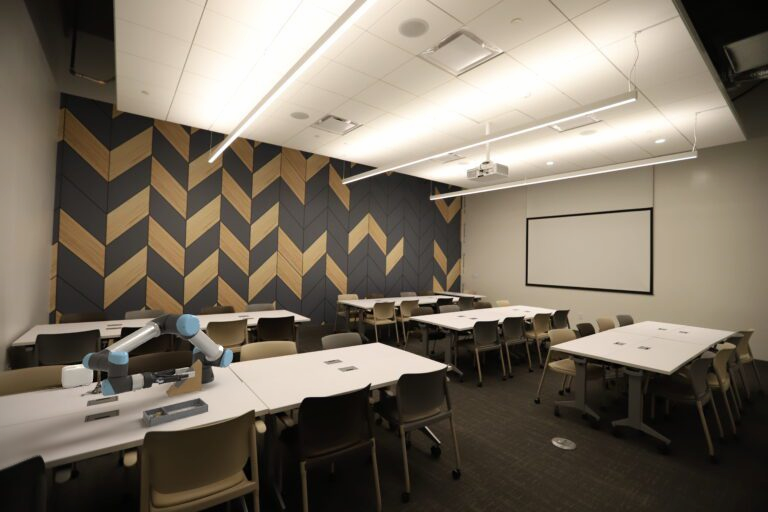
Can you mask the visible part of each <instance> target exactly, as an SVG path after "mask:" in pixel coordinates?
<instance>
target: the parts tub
mask: <svg viewBox="0 0 768 512" xmlns="http://www.w3.org/2000/svg"><path fill="white" fill-rule="evenodd" d="M194 406H195V407H194ZM196 406H197V407H196ZM190 407H193V408H190ZM186 408H190V409H186ZM183 409H185V410H183ZM179 410H181V411H179ZM174 411H177V412H174ZM170 412H171V413H170ZM172 412H174V413H172ZM207 412H209V404H208V403H207V402H206V401H205V400H203V399H202V398H200V397H198V398H193V399H189V400H184V401H180V402H176V403H172V404H168V405H164V406H163V405H162V406H160V407H156V408H155V407H154V408H152V409H151V408H150V409H146V410H142V419H143V421H144V422H145V423H146V425H148V427H149V428H150V427H151V428H152V427H155V426H158V425H162V424H166V423H169V422H173V421H177V420H181V419H185V418H188V417H192V416H196V415H199V414H203V413H207Z"/></svg>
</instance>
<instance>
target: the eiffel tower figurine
mask: <svg viewBox="0 0 768 512" xmlns="http://www.w3.org/2000/svg"><path fill="white" fill-rule="evenodd" d="M101 385H102V382H101V371H99V372H98V377H97V383H96V385H95V387H94V388H93V390H92V389H91V390H89V391H87V392H86V391H85V392H86V394H93V395H100V394H102V391H101ZM86 394H82V395H81V397H84V396H85V395H86Z"/></svg>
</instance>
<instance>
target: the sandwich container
mask: <svg viewBox="0 0 768 512" xmlns="http://www.w3.org/2000/svg"><path fill="white" fill-rule="evenodd" d="M193 371H195V377H191V378H186V379H181V381H178V382H173V384H172V385H171V386H170V387H168V389H167V390H165V393H166V396H167V397H174V396H181V395H185V394H190V393H196V392H201V391H202V384H201V378H202V363H201V362H200V360H199V359H198V360H197V361H196V362H195V363H194V364H193V363H192V364H191V366H190V367H189V369H188V370H187V371H186V372H185V373H188V372H193Z"/></svg>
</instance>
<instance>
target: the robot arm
mask: <svg viewBox="0 0 768 512" xmlns="http://www.w3.org/2000/svg"><path fill="white" fill-rule="evenodd" d="M200 322H201V321H200V318H198V317H197V316H196V315H193V314H189V313H187V314H185V313H173V312H170V313H165V314H162V315H159V316H157V317H154V318H153V319H152V320H149V321H147V322H146V323H145V325H144V326H142V327H140V328H139V329H138V330H135V331H134V332H132V333H130V334H129V335H126V336H125V337H123V338H122V339H120V340H118V341H117V342H115V343H113V344H111V345H109V346H108V347H106V348H104V349H102V350H100V351H98V352H90V353H88V354H85V356H84V357H83V359H82V364H83V366H84V367H85V368H87V369H91V370H93V371H99V372H107V378H106V379H103V380H102V381H101V391H102V393H101V394H102V396H104V397H107V396H117V395H119V394H124V393H129V392H133V393H134V392H136V391H138V390H139V391H140V390H144V389H150V388H152V387H153V384H157V385H159V386H160V385H163V384H170V383H175V382H178V381H181V379H186V378H191V377H195V371H193V372H188V373H185V372H186V371H187V370H188V369H189V368H190V367H182V368H175V367H173V368H170V369H166V370H162V371H157V372H151V371H146V372H142V373H137V374H130V375H128V373H129V372H128V371H129V353H130V352H131V351H133V350H134V349H136V348H138V347H139V346H141V345H142V344H144V343H146V342H147V341H148V342H149V340H151V339H153V338H158V337H159V336H161V335H164V334H171V335H177V336H178V337H179V338H180V339H182V340H183V341H189V342H190V343H191V344H192V345H194V348H193V350H192V351H193V352H192V365H193V364H194V363H195V362H196V361H197V360H198V359H199V360H200V362H201V363H202V378H201V385H202V384H208V383H211V382H213V381H214V380H215V374H214V371H213V367H215V368H220V369H221V368H224V369H225V368H227V367H229V366H230V365H231V363H232V361H233V358H234V355H233V354H234V353H233V351H232V349H229V348H228V349H226V348H225V347H224V346H223V345H221V344H217V343H216V342H214V341H213V340H212V339H211V338H210V337H209V336H208V335H207V334H206V333H205V332H204V331H203V330H202V329H201V324H200Z"/></svg>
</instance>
